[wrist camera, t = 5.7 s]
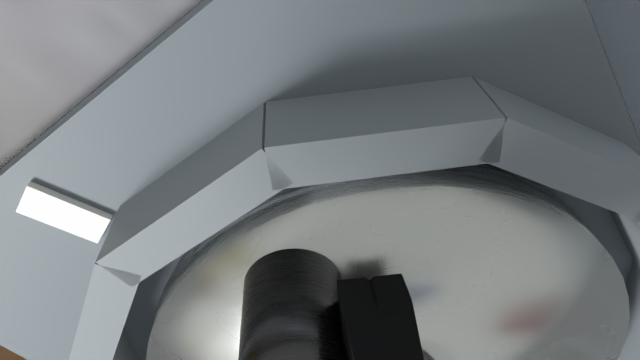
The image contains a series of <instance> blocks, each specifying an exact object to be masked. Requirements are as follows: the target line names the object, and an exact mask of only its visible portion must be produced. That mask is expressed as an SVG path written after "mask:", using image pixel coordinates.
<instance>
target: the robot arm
mask: <svg viewBox="0 0 640 360" xmlns="http://www.w3.org/2000/svg"><path fill="white" fill-rule="evenodd" d="M337 287H338V300H339V308H340V316H341V324H342V333H343V340H344V344H345V349H346V353H347V358H348V360H424V357H423V352H422V347H421V342H420V337H419V332H418V327H417V322H416V317H415V312H414V307H413V302H412V299H411V296H410V294H409V291H408V288H407V286H406V283H405V281H404V278H403V276H402V274H392V275H382V276H374V277H373V278H371V279H370V280H368V279H367V278H365V277H362V278H352V279H342V280H337Z"/></svg>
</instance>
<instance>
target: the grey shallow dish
mask: <svg viewBox="0 0 640 360" xmlns="http://www.w3.org/2000/svg"><path fill="white" fill-rule="evenodd" d="M471 165H483V166H488V167H493V168H497V169H499V170H502V171H505V172H508V173H511V174H513V175H516V176H519V177H522V178H525V179H527V180H528V181H530V182H532V183H534V184H536V185H538V186H540V187H542V188H543V189H545V190H547V191H549V192H551V193H552V194H553V195H555V196H556V197H557V198H559V199H560V200H561V201H562V202H564V203H565V204H566V205H568V206H569V207H570V208H571V209H572V210H573V211H574V212H575V213H576V214H577V215H578V216H579V218H580V219H581V220H582V221H583V222H584V223H585V224H586V226H587V227H588V228H589V229H590V230H591V232H592V233H593V234H594V235H595V237H596V238H597V239H598V240H599V242H600V243H601V244H602V245H603V247H604V248H605V249H606V250H607V252H608V253H609V254H610V255H611V256H612V258H613V260H614V262H615V263H616V265H617V267H618V269H619V271H620V272H621V274H622V276H623V279H624V282H625V286H626V289H627V293H628V296H629V313H630V318H629V325H628V331H627V337H626V340H625V342H624V345H623V348H622V350H621V353H620V356H619V358H618V360H640V142H639V139H638V136H637V134H636V131H635V129H634V126H633V123H632V121H631V118H630V116H629V113H628V111H627V108H626V105H625V103H624V100H623V98H622V95H621V92H620V90H619V87H618V85H617V82H616V79H615V77H614V74H613V72H612V69H611V66H610V64H609V61H608V59H607V56H606V53H605V51H604V48H603V46H602V43H601V40H600V38H599V35H598V33H597V30H596V27H595V25H594V22H593V20H592V17H591V15H590V12H589V9H588V7H587V4H586V2H585V0H203V1H202V2H201V3H199V4H198V5H197V6H196V7H194V8H193V9H192V10H191V11H190V12H188V13H187V14H186V15H185V16H184V17H182V18H181V19H180V20H179V21H178V22H176V23H175V24H174V25H173V26H172V27H170V28H169V29H168V30H167V31H166V32H164V33H163V34H162V35H161V36H160V37H158V38H157V39H156V40H155V41H154V42H152V43H151V44H150V45H149V46H148V47H146V48H145V49H144V50H143V51H142V52H140V53H139V54H138V55H137V56H136V57H134V58H133V59H132V60H131V61H130V62H128V63H127V64H126V65H125V66H124V67H122V68H121V69H120V70H119V71H118V72H116V73H115V74H114V75H113V76H112V77H110V78H109V79H108V80H107V81H106V82H104V83H103V84H102V85H101V86H100V87H98V88H97V89H96V90H95V91H94V92H92V93H91V94H90V95H89V96H88V97H86V98H85V99H84V100H83V101H81V102H80V103H79V104H78V105H77V106H75V107H74V108H73V109H72V110H71V111H69V112H68V113H67V114H66V115H65V116H63V117H62V118H61V119H60V120H59V121H57V122H56V123H55V124H54V125H53V126H51V127H50V128H49V129H48V130H47V131H45V132H44V133H43V134H42V135H41V136H39V137H38V138H37V139H36V140H35V141H33V142H32V143H31V144H30V145H29V146H27V147H26V148H25V149H24V150H23V151H21V152H20V153H19V154H18V155H17V156H15V157H14V158H13V159H12V160H11V161H9V162H8V163H7V164H6V165H5V166H3V167H2V168H1V169H0V345H1V346H3V347H5V348H7V349H9V350H10V351H12V352H14V353H16V354H18V355H20V356H22V357H24V358H25V359H27V360H146V355H147V347H148V341H149V337H150V333H151V329H152V326H153V322H154V318H155V314H156V310H157V306H158V304H159V301H160V298H161V295H162V292H163V289H164V286H165V284H166V283H167V281H168V279H169V277H170V276H171V274H172V272H173V270H174V269H175V267H176V265H177V264H178V262H179V261H180V260H181V259H182V258H183V256H184V255H185V254H186V253H187V251H189V250H190V249H192V248H193V247H195V246H196V245H198V244H199V243H201V242H202V241H204V240H206V239H207V238H209V237H210V236H212V235H213V234H215V233H216V232H218V231H219V230H221V229H223V228H224V227H226V226H227V225H229V224H230V223H232V222H233V221H235V220H236V219H238V218H240V217H241V216H243V215H244V214H246V213H247V212H249V211H250V210H252V209H254V208H255V207H257V206H258V205H260V204H261V203H263V202H264V201H266V200H267V199H269V198H271V197H272V196H274V195H275V194H277V193H278V192H280V191H281V190H283V189H286V188H294V187H302V186H310V185H318V184H326V183H334V182H343V181H351V180H359V179H367V178H375V177H383V176H391V175H399V174H407V173H415V172H423V171H431V170H439V169H447V168H455V167H463V166H471Z"/></svg>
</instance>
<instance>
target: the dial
mask: <svg viewBox="0 0 640 360" xmlns="http://www.w3.org/2000/svg"><path fill="white" fill-rule="evenodd" d="M392 274H402V276H403V278H404V281H405V283H406V286H407V288H408V291H409V294H410V296H411V299H412V302H413V307H414V312H415V317H416V322H417V327H418V332H419V337H420V342H421V347H422V352H423V357H424V360H618V358H619V356H620V353H621V350H622V348H623V345H624V342H625V340H626V337H627V331H628V325H629V318H630V313H629V296H628V293H627V289H626V286H625V282H624V279H623V276H622V274H621V272H620V271H619V269H618V267H617V265H616V263H615V262H614V260H613V258H612V256H611V255H610V254H609V253H608V252H607V250H606V249H605V248H604V247H603V245H602V244H601V243H600V242H599V240H598V239H597V238H596V237H595V235H594V234H593V233H592V232H591V230H590V229H589V228H588V227H587V226H586V224H585V223H584V222H583V221H582V220H581V219H580V218H579V216H578V215H577V214H576V213H575V212H574V211H573V210H572V209H571V208H570V207H569V206H568V205H566V204H565V203H564V202H562V201H561V200H560V199H559V198H557V197H556V196H555V195H553V194H552V193H551V192H549V191H547V190H545V189H543V188H542V187H540V186H538V185H536V184H534V183H532V182H530V181H528V180H527V179H525V178H522V177H519V176H516V175H513V174H511V173H508V172H505V171H502V170H499V169H497V168H493V167H488V166H483V165H471V166H463V167H455V168H447V169H439V170H431V171H423V172H415V173H407V174H399V175H391V176H383V177H375V178H367V179H359V180H351V181H343V182H334V183H326V184H318V185H310V186H302V187H294V188H286V189H283V190H281V191H280V192H278V193H277V194H275V195H274V196H272V197H271V198H269V199H267V200H266V201H264V202H263V203H261V204H260V205H258V206H257V207H255V208H254V209H252V210H250V211H249V212H247V213H246V214H244V215H243V216H241V217H240V218H238V219H236V220H235V221H233V222H232V223H230V224H229V225H227V226H226V227H224V228H223V229H221V230H219V231H218V232H216V233H215V234H213V235H212V236H210V237H209V238H207V239H206V240H204V241H202V242H201V243H199V244H198V245H196V246H195V247H193V248H192V249H190V250H189V251H187V253H186V254H185V255H184V256H183V258H182V259H181V260H180V261H179V262H178V264H177V265H176V267H175V269H174V270H173V272H172V274H171V276H170V277H169V279H168V281H167V283H166V284H165V286H164V289H163V292H162V295H161V298H160V301H159V304H158V306H157V310H156V314H155V318H154V322H153V326H152V329H151V333H150V337H149V341H148V347H147V355H146V360H348V358H347V353H346V349H345V344H344V340H343V333H342V324H341V316H340V308H339V300H338V287H337V280H342V279H352V278H362V277H365V278H367V279H368V280H370V279H371V278H373V277H374V276H382V275H392Z"/></svg>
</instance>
